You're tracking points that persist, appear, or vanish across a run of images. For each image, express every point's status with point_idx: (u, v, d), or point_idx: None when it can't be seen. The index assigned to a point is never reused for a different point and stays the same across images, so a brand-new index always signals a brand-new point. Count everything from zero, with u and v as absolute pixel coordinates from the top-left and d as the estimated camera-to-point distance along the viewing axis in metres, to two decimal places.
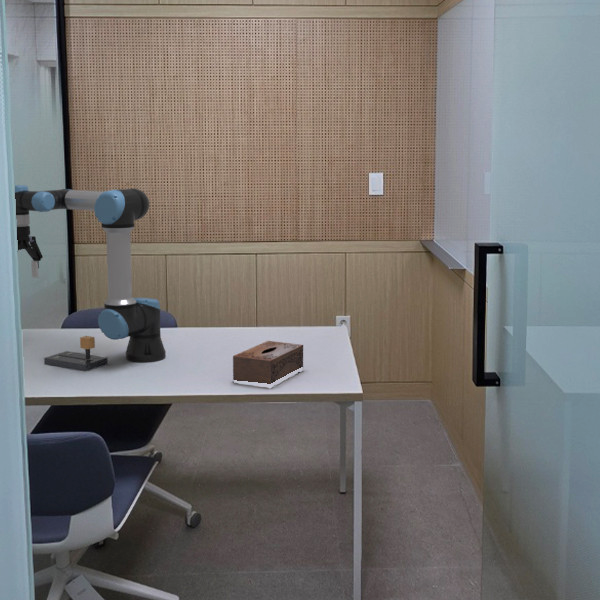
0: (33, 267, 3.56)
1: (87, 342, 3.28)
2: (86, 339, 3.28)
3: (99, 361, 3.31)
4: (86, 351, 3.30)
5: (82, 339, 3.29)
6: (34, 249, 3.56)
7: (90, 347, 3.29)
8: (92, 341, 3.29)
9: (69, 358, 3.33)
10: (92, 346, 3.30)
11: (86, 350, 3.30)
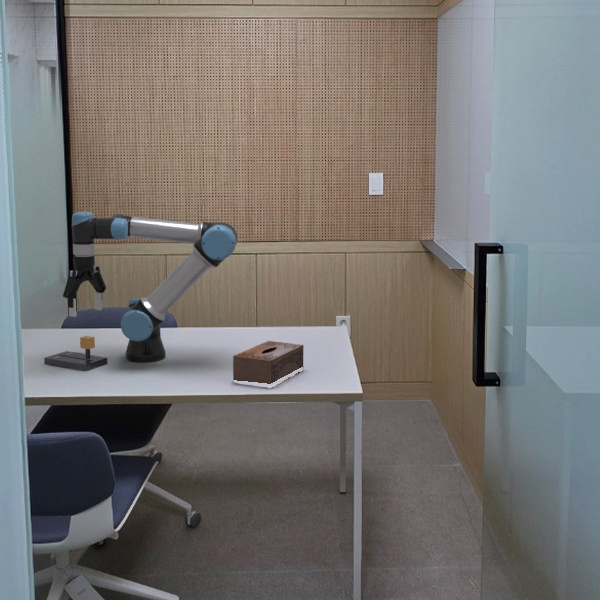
0: (96, 299, 3.33)
1: (87, 342, 3.28)
2: (86, 339, 3.28)
3: (99, 361, 3.31)
4: (86, 351, 3.30)
5: (82, 339, 3.29)
6: (97, 280, 3.32)
7: (90, 347, 3.29)
8: (92, 341, 3.29)
9: (69, 358, 3.33)
10: (92, 346, 3.30)
11: (86, 350, 3.30)
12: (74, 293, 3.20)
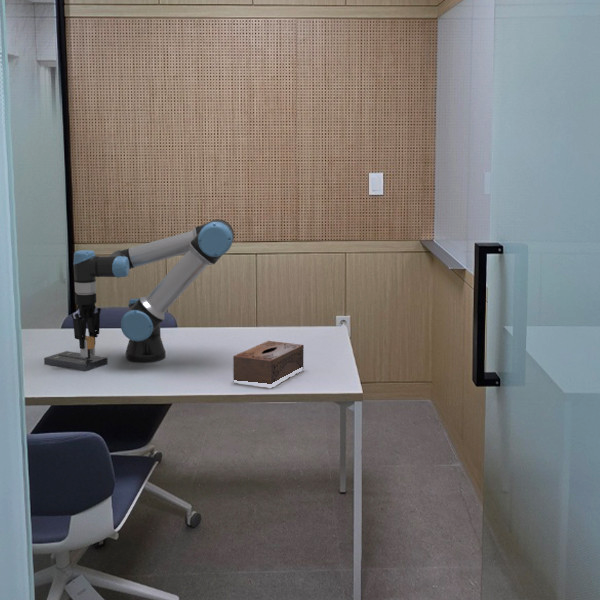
0: None
1: (87, 342, 3.28)
2: (86, 339, 3.28)
3: (99, 361, 3.31)
4: None
5: None
6: (94, 322, 3.33)
7: (90, 347, 3.29)
8: (92, 341, 3.29)
9: (69, 358, 3.33)
10: (92, 346, 3.30)
11: None
12: (84, 334, 3.26)
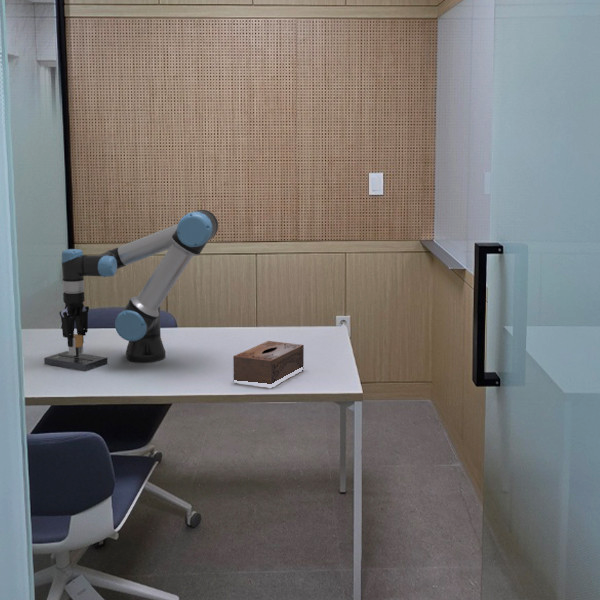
0: None
1: (75, 340, 3.30)
2: (74, 337, 3.30)
3: (99, 361, 3.31)
4: None
5: None
6: (82, 320, 3.35)
7: (78, 345, 3.31)
8: (80, 339, 3.32)
9: (69, 358, 3.33)
10: (80, 344, 3.32)
11: None
12: (72, 332, 3.29)
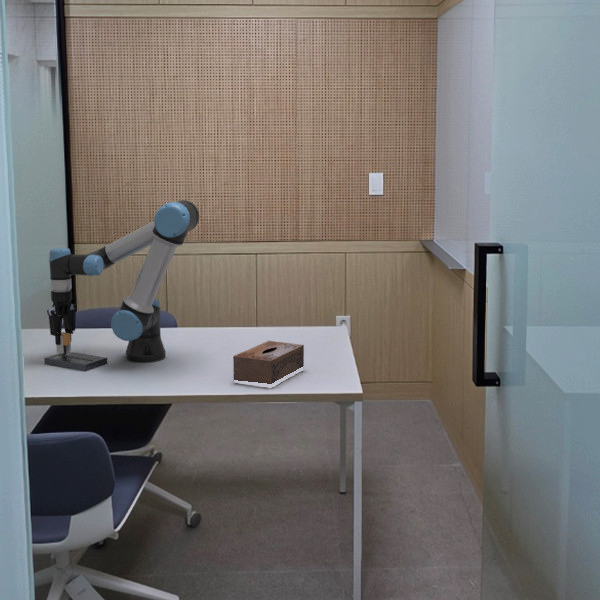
0: None
1: (63, 338, 3.33)
2: (62, 335, 3.33)
3: (99, 361, 3.31)
4: None
5: None
6: (70, 319, 3.38)
7: (66, 343, 3.34)
8: (68, 337, 3.35)
9: (69, 358, 3.33)
10: (68, 342, 3.35)
11: None
12: (60, 330, 3.32)
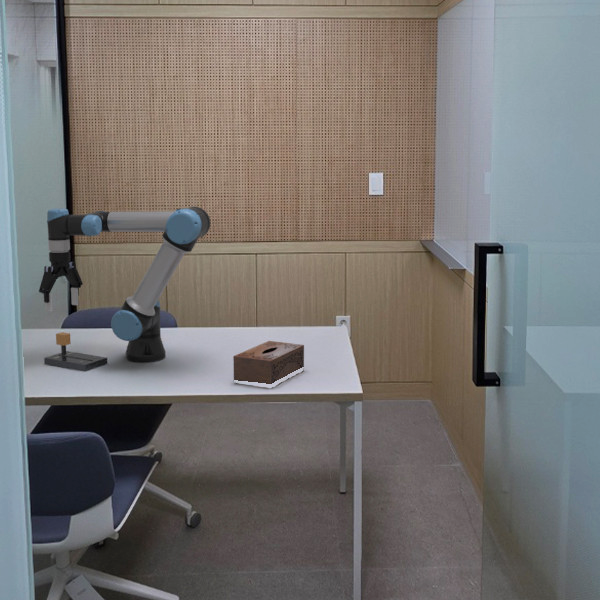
0: (73, 294, 3.38)
1: (63, 338, 3.33)
2: (62, 335, 3.33)
3: (99, 361, 3.31)
4: (62, 347, 3.36)
5: (58, 335, 3.34)
6: (74, 275, 3.38)
7: (66, 343, 3.34)
8: (68, 337, 3.35)
9: (69, 358, 3.33)
10: (68, 342, 3.35)
11: (62, 346, 3.35)
12: (50, 288, 3.25)
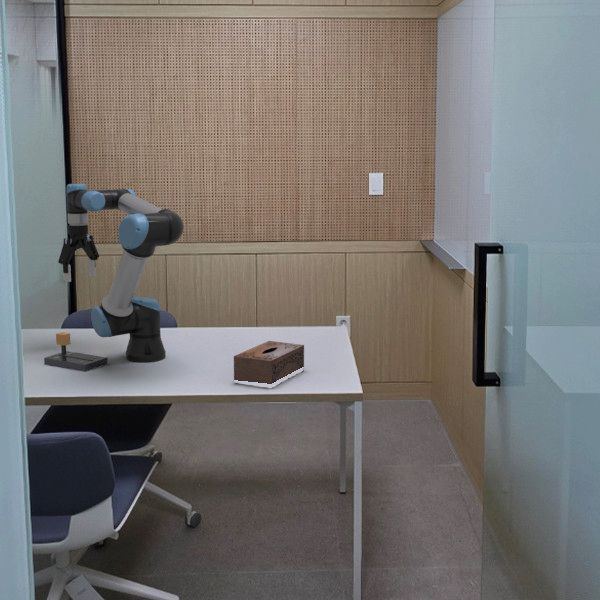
0: (90, 266, 3.54)
1: (63, 338, 3.33)
2: (62, 335, 3.33)
3: (99, 361, 3.31)
4: (62, 347, 3.36)
5: (58, 335, 3.34)
6: (91, 248, 3.54)
7: (66, 343, 3.34)
8: (68, 337, 3.35)
9: (69, 358, 3.33)
10: (68, 342, 3.35)
11: (62, 346, 3.35)
12: (69, 259, 3.41)
